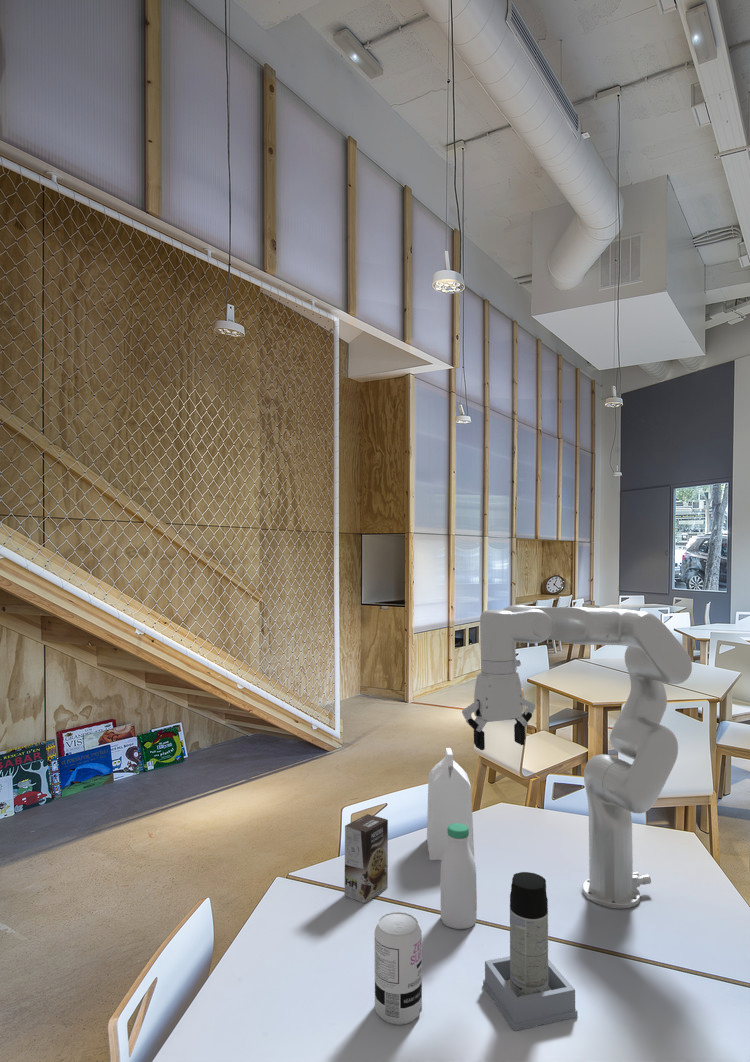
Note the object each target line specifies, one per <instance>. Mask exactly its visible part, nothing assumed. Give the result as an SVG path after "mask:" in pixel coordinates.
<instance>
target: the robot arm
mask: <svg viewBox="0 0 750 1062" xmlns="http://www.w3.org/2000/svg"><path fill="white" fill-rule="evenodd" d="M479 616H480V617H479V630H480V631H479V632H480V633H479V634H480V637H479V638H480V639H479V641H480V644H479V645H480V672H477V673H476V679H475V683H474V684H475V685H474V693H473V694H474V695H473V703H471V704H469V705H468V706H467V707H465V708H464V709H462V710H461V713H462V716H463V718H464V719H465V722H466V723H467V724H468V725H469V727H471V728H472V729H473V744H474V746H475V748H477V749H478V750H480V751H484V750H485V749H486V748H485V747H486V743H485V731H483V729H484V727H485V726H486V725H487V723H489V722H501V721H502V722H503V721H512V720H514V721H515V722H516V723H514V725H513V728H514V729H513V730H514V732H513V733H514V734H513V735H514V742H515V743H516V744H519V745H520V746H525V740H526V727H527V726H528V724H529V721H530V719H531V718H533V717H532V716H533V714H534V711H535V708H536V704H535V703H533V702H531V701H529V700H527V699H525V698H523V691H522V690H523V689H522V683H521V679H520V676H519V672H517V669H518V668H517V667H520V666H521V661H520V660H519V659H518V660H517V657H516V656H517V655H516V653H517V652H516V644H517V643H524V644H525V643H527V644H540V643H542V642H545V641H546V640H552V641H558V642H561V643H566V644H572V645H580V646H582V645H583V646H584V645H585V646H586V645H587V646H589V645H590V646H592V645H593V646H595V645H597V646H599V645H600V646H625V647H626V649H625V652H624V663H625V666H626V668H627V671H628V672H627V673H628V675H629V681H630V690H629V691H630V692H629V695H628V697H627V699H626V701H625V704H624V705H623V708H622V709H621V712H620V713H619V714H618V717H617V719H616V721H615V723H614V725H613V726H612V729H611V732H610V735H609V743H610V745H611V746H612V748H613V749H614V750H615V751H616V752H617V753H619V754H621V755H622V756H623V755H624V756H625V757H627V758H629V759H632V760H633V761H632V763H630V762H628V761H625V760H623V759H620V758H618V757H616V756H613V755H610V754H605V753H604V754H603V753H602V754H601V753H600V754H596V755H593V756H592V757H590V759H588V761H587V763H586V764H585V767H584V771H583V781H584V787H585V792H586V797H587V799H586V800H587V805H588V806H587V807H588V866H589V868H588V871H589V873H588V874H589V876H588V878H587V879H586V880H584V882H583V883H582V892H583V895H584V896H585V897H586V898H587V899H588V900H590V901H591V902H593V903H595V904H597V905H600V906H603V907H606V908H612V909H629V908H633V907H636V906H637V905H638V904H639V903H640V901H641V893H640V891H639V889H638V888H640V886H642V885H643V886H644V885H645V886H646V885H649V884H650V885H651V883H652V879H651V876H650V875H649V874H643V875H639V872H638V871H633V870H634V869H633V867H634V865H633V862H634V861H633V860H634V859H633V856H634V855H633V819H632V818H633V817H632V813H633V814H639V815H640V814H644V813H646V812H648V811H649V810H650V809H651V808H653V807H654V805H655V803H656V802H657V800H658V799H659V796H660V795H661V792H662V791H663V789H664V786H665V784H666V782H667V780H668V779H669V776H670V774H671V772H672V770H673V768H674V766H675V764H676V761H677V758H678V753H679V744H678V739H677V737H676V735H675V733H674V732H673V731H672V730H671V729H669V728H668V727H666V726H665V725H662V724H660V723H661V721H662V720H663V719H662V718H663V717H664V714H665V711H666V710H667V705H668V698H667V692H666V689H665V685H664V683H666V684H669V685H679V684H682V683H684V682H686V681H687V680H688V679H689V678H690V676H691V673H692V669H693V665H692V659H691V657H690V655H689V653H688V651H687V650H686V648H685V647H684V646H683V645H682V643H680V641H679V640H678V639H677V638H676V636H675V635H674V634H673V633H672V631H671V630H670V629H669V628H668V627H667V626H666V625H665V623H664V622H663V621H661V620H660V619H659V617H657V616H656V615H655V614H653V613H651V612H647V611H640V610H632V609H625V608H606V607H605V608H604V607H603V608H602V607H601V608H599V607H582V606H580V607H579V606H577V607H576V606H559V607H558V606H533V605H532V606H531V605H509V606H506V607H505V608H503V609H489V610H484V611H482V613H481V614H480V615H479ZM524 707H525V711H524ZM472 714H474V716H475V718H474V719H473V716H472Z"/></svg>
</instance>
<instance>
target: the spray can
mask: <svg viewBox="0 0 750 1062" xmlns="http://www.w3.org/2000/svg"><path fill="white" fill-rule="evenodd" d="M546 882H547V880H546V878H545V877H543V876H542V875H540V874H537V873H535V872H529V871H528V872H527V871H520V872H517V873H516V872H515V873H514V874H513V877H512V880H511V883H510V884H511V885H510V893H509V956H510V988H511V990H512V991H513V992H514V994H515V995H516V996H517V997H521V996H526V995H530V994H535V993H540V992H545V991H548V959H549V905H548V904H549V903H548V901H549V900H548V897H547V883H546Z"/></svg>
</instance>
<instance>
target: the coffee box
mask: <svg viewBox="0 0 750 1062" xmlns="http://www.w3.org/2000/svg"><path fill="white" fill-rule="evenodd" d="M388 820H389V819H387V818H384V817H381V816H376V815H372V814H368V813H367V814H365V815H363V816H361V817H359V818H357V819H355V820H354V821H351V822H350V823H347V824H346V825H344V887H343V888H344V891H343V892H344V896H346V895H347V896H346V897H348V898H350V897H351V899H353V900H355V901H356V902H360V903H362V904H366V903H367V902H369V901H371V900H372V899H373V898H375V897H377V896H379V894H381V893H382V892H384V891H386V890H387V889H388V887H389V881H388V879H389V877H388V875H389V872H388V871H389V869H388V868H389V862H388V861H389V860H388V859H389V855H388V854H389V852H388V851H389V849H388V848H389V847H388V845H389V843H388V841H389V840H388V839H389V838H388V837H389V832H388V831H389V830H388V829H389V828H388V827H389V826H388V825H389V823H388V822H389V821H388Z"/></svg>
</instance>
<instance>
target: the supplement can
mask: <svg viewBox="0 0 750 1062" xmlns="http://www.w3.org/2000/svg"><path fill="white" fill-rule="evenodd" d="M422 932H423V931H422V929H421V926H420V925H419V921H418V920H417V918H416V917H415V916H414V915H412V914H410V913H406V912H402V911H401V912H400V911H393V912H388V913H385V914H384V915H381V916H380V917H379V919H378V922H377V923H376V926H375V928H374V1009H375V1011H376V1014H377V1015H378V1016H379V1017H380V1018H381V1019H382V1020H383V1021H385V1022H387V1024H392V1025H396V1026H397V1025H398V1026H401V1025H406V1024H409V1023H412V1022H413V1021H414V1020H416V1019H417V1018H418V1017H419V1016H420V1014H421V1013H422V1010H423V996H422V995H423V992H422V991H423V988H422V987H423V983H422V981H423V979H422V978H423V971H422V970H423V966H422V963H423V962H422V961H423V960H422V959H423V958H422V957H423V955H422V953H423V951H422V948H423V947H422V946H423V945H422V944H423V942H422V939H423V938H422V936H423V935H422Z"/></svg>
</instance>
